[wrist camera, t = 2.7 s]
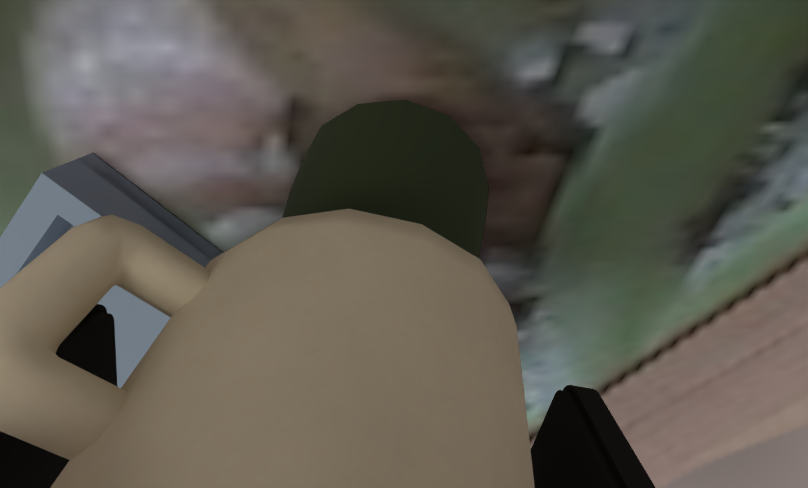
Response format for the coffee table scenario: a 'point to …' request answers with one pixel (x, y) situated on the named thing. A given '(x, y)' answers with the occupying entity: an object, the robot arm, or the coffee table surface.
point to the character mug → (291, 334)
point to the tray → (84, 201)
